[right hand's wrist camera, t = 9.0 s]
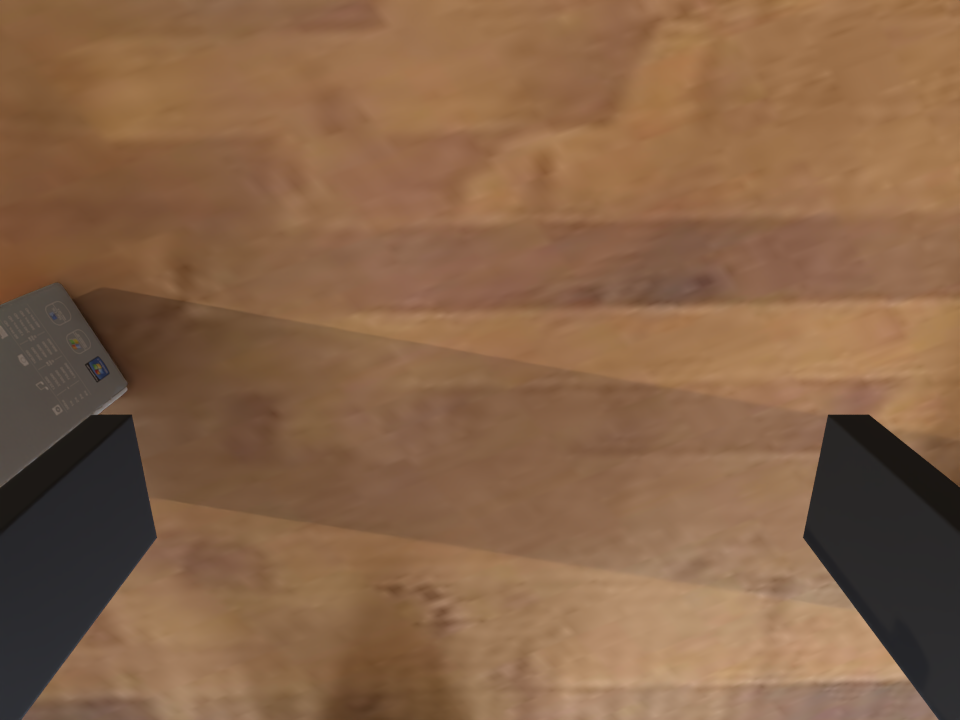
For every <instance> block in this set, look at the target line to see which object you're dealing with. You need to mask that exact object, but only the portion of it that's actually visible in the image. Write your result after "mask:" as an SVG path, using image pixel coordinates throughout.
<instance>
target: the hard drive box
mask: <svg viewBox="0 0 960 720" xmlns="http://www.w3.org/2000/svg"><path fill="white" fill-rule="evenodd" d="M127 385H128V383H127V381H126V380H125V379H124V377H123V375H122V374H121V372H120V371H119V369H118V368H117V366H116V365H115V363H114V362H113V361H112V359H111V358H110V356H109V354H108V353H107V351H106V350H105V348H104V347H103V345H102V344H101V343H100V341H99V339H98V338H97V336H96V335H95V333H94V332H93V330H92V329H91V328H90V326H89V325H88V323H87V322H86V320H85V319H84V317H83V316H82V314H81V313H80V311H79V309H78V308H77V306H76V305H75V303H74V302H73V300H72V299H71V297H70V296H69V294H68V293H67V292H66V290H65V289H64V287H63V286H62V285H61V284H60V283H53V284H51V285H48V286H46V287H43V288H41V289H38V290H36V291H33V292H31V293H28V294H26V295H23V296H21V297H18V298H16V299H13V300H11V301H9V302H6V303H4V304H1V305H0V487H1V486H3V485H4V484H5V483H6V482H8V481H9V480H10V479H11V478H13V477H14V476H15V475H16V474H18V473H19V472H20V471H21V470H23V469H24V468H25V467H26V466H28V465H29V464H30V463H31V462H33V461H34V460H35V459H36V458H38V457H39V456H40V455H41V454H43V453H44V452H45V451H46V450H48V449H49V448H50V447H51V446H53V445H54V444H55V443H56V442H58V441H59V440H60V439H61V438H63V437H64V436H65V435H66V434H68V433H69V432H70V431H71V430H73V429H74V428H75V427H76V426H78V425H79V424H80V423H81V422H83V421H84V420H85V419H86V418H88V417H89V416H90V415H98V414H99V413H100V412H102V411H103V410H104V409H105V408H107V407H108V406H109V405H110V404H112V403H113V402H114V401H115V400H117V399H118V398H119V397H120V396H122V395H123V394H124V393H125V392H126V391H127V390H128V389H127V387H126V386H127Z"/></svg>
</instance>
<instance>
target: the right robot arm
mask: <svg viewBox="0 0 960 720" xmlns="http://www.w3.org/2000/svg"><path fill="white" fill-rule="evenodd" d="M156 538H157V536H156V531H155V526H154V521H153V516H152V511H151V506H150V501H149V497H148V492H147V487H146V482H145V477H144V472H143V467H142V462H141V457H140V453H139V448H138V443H137V438H136V433H135V428H134V423H133V418H132V415H90V416H89V417H88V418H86V419H85V420H84V421H83V422H81V423H80V424H79V425H78V426H76V427H75V428H74V429H73V430H71V431H70V432H69V433H68V434H66V435H65V436H64V437H63V438H61V439H60V440H59V441H58V442H56V443H55V444H54V445H53V446H51V447H50V448H49V449H48V450H46V451H45V452H44V453H43V454H41V455H40V456H39V457H38V458H36V459H35V460H34V461H33V462H31V463H30V464H29V465H28V466H26V467H25V468H24V469H23V470H21V471H20V472H19V473H18V474H16V475H15V476H14V477H13V478H11V479H10V480H9V481H8V482H6V483H5V484H4V485H3V486H1V487H0V720H21V719H22V718H23V717H24V715H25V714H26V713H27V711H28V710H29V709H30V707H31V706H32V705H33V703H34V702H35V701H36V699H37V698H38V697H39V695H40V694H41V693H42V691H43V690H44V688H45V687H46V686H47V684H48V683H49V682H50V680H51V679H52V678H53V676H54V675H55V674H56V672H57V671H58V670H59V668H60V667H61V666H62V664H63V663H64V662H65V660H66V659H67V658H68V656H69V655H70V654H71V652H72V651H73V650H74V648H75V647H76V646H77V644H78V643H79V641H80V640H81V639H82V637H83V636H84V635H85V633H86V632H87V631H88V629H89V628H90V627H91V625H92V624H93V623H94V621H95V620H96V619H97V617H98V616H99V615H100V613H101V612H102V611H103V609H104V608H105V607H106V605H107V604H108V603H109V601H110V600H111V599H112V597H113V596H114V595H115V593H116V592H117V590H118V589H119V588H120V586H121V585H122V584H123V582H124V581H125V580H126V578H127V577H128V576H129V574H130V573H131V572H132V570H133V569H134V568H135V566H136V565H137V564H138V562H139V561H140V560H141V558H142V557H143V556H144V554H145V553H146V552H147V550H148V549H149V548H150V546H151V545H152V544H153V542H154V541H155V539H156ZM803 538H804V539H805V541H806V542H807V544H808V545H809V546H810V548H811V549H812V550H813V552H814V553H815V554H816V556H817V557H818V558H819V560H820V561H821V562H822V564H823V565H824V566H825V568H826V569H827V570H828V572H829V573H830V574H831V576H832V577H833V578H834V580H835V581H836V582H837V584H838V585H839V586H840V588H841V589H842V590H843V592H844V593H845V595H846V596H847V597H848V599H849V600H850V601H851V603H852V604H853V605H854V607H855V608H856V609H857V611H858V612H859V613H860V615H861V616H862V617H863V619H864V620H865V621H866V623H867V624H868V625H869V627H870V628H871V629H872V631H873V632H874V633H875V635H876V636H877V637H878V639H879V640H880V642H881V643H882V644H883V646H884V647H885V648H886V650H887V651H888V652H889V654H890V655H891V656H892V658H893V659H894V660H895V662H896V663H897V664H898V666H899V667H900V668H901V670H902V671H903V672H904V674H905V675H906V676H907V678H908V679H909V680H910V682H911V683H912V684H913V686H914V687H915V688H916V690H917V691H918V693H919V694H920V695H921V697H922V698H923V699H924V701H925V702H926V703H927V705H928V706H929V707H930V709H931V710H932V711H933V713H934V714H935V715H936V717H937V718H938V719H939V720H960V487H959V486H957V485H956V484H955V483H954V482H952V481H951V480H950V479H949V478H947V477H946V476H945V475H944V474H942V473H941V472H940V471H939V470H937V469H936V468H935V467H934V466H932V465H931V464H930V463H929V462H927V461H926V460H925V459H924V458H922V457H921V456H920V455H919V454H917V453H916V452H915V451H914V450H912V449H911V448H910V447H909V446H907V445H906V444H905V443H904V442H902V441H901V440H900V439H899V438H897V437H896V436H895V435H894V434H892V433H891V432H890V431H889V430H887V429H886V428H885V427H884V426H882V425H881V424H880V423H879V422H877V421H876V420H875V419H874V418H872V417H871V416H870V415H828V418H827V423H826V428H825V433H824V438H823V443H822V448H821V453H820V457H819V462H818V467H817V472H816V477H815V482H814V487H813V492H812V497H811V501H810V506H809V511H808V516H807V521H806V526H805V531H804V536H803Z"/></svg>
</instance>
